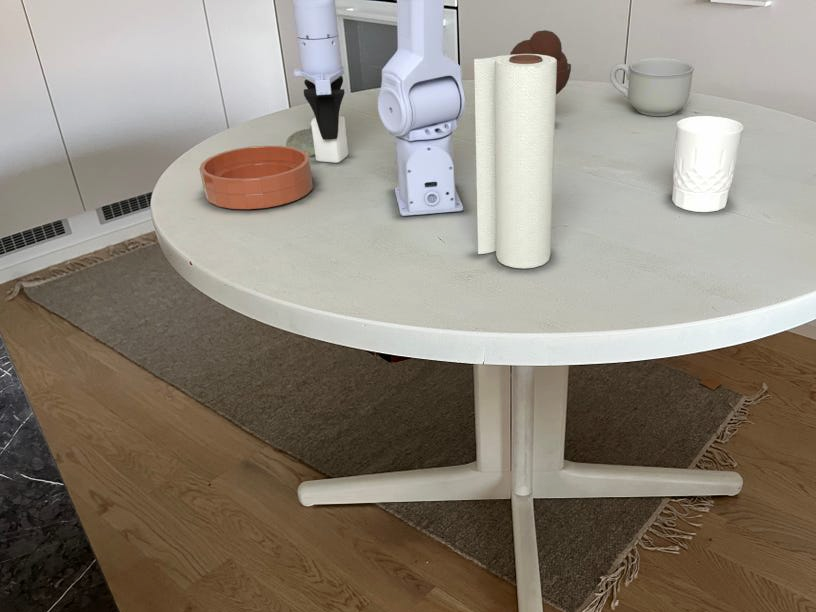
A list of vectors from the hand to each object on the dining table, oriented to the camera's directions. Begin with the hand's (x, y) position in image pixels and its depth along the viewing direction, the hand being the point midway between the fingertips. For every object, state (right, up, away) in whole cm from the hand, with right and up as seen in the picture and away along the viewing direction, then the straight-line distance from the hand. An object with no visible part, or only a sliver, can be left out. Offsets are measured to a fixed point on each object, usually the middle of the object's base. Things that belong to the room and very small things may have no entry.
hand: (329, 133), depth 117 cm
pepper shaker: (0, -3, +2) cm, 4 cm away
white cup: (+50, -14, -16) cm, 55 cm away
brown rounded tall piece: (+32, +5, +15) cm, 36 cm away
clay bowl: (-8, -11, -9) cm, 16 cm away
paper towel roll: (+27, -22, -28) cm, 45 cm away
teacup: (+52, +10, +21) cm, 57 cm away
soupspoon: (-5, +3, +13) cm, 14 cm away
